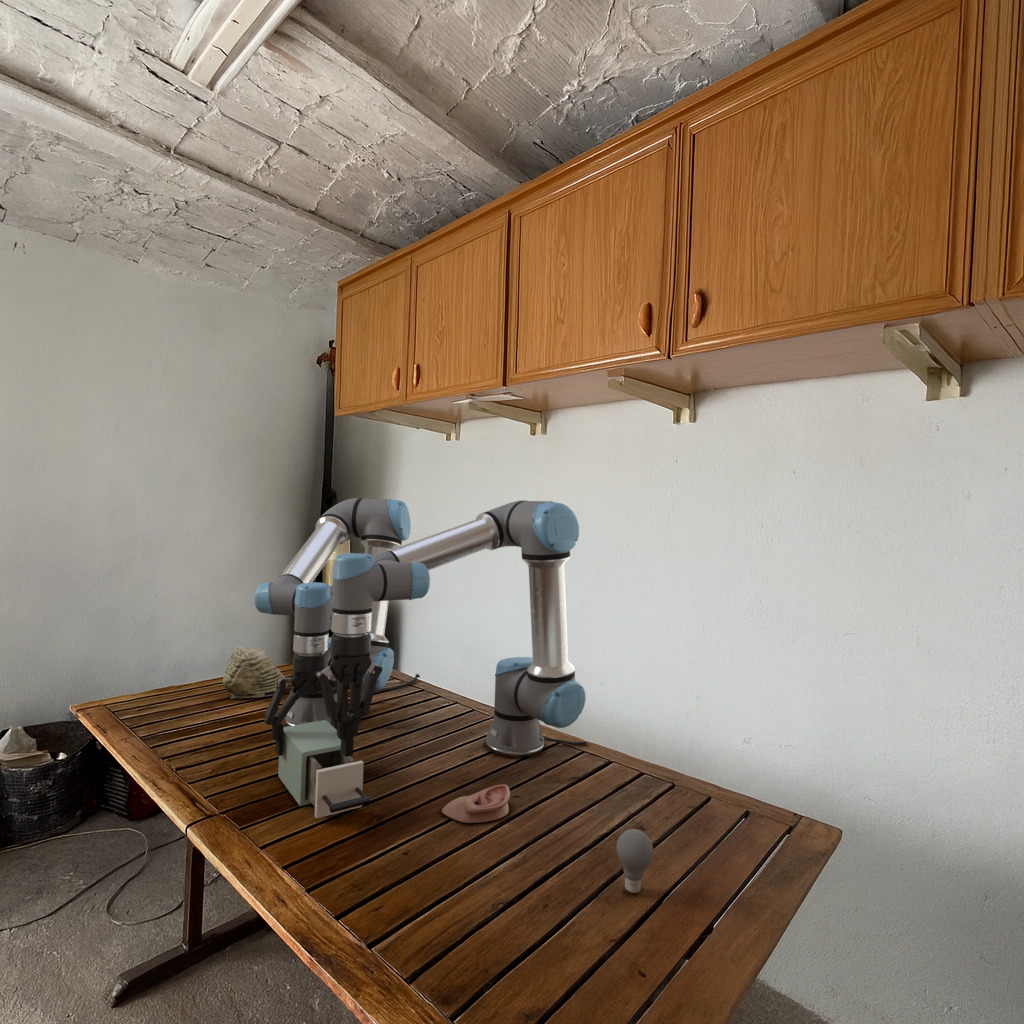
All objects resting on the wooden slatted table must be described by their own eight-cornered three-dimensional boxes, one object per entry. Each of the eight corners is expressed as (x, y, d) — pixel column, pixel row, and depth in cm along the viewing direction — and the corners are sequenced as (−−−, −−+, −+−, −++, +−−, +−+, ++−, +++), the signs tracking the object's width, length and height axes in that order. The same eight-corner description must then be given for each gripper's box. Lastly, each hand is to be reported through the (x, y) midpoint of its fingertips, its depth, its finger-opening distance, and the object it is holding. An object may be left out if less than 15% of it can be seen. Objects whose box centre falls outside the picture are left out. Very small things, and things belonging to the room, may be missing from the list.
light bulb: (610, 879, 108) (613, 822, 108) (644, 879, 109) (647, 822, 109) (619, 902, 102) (622, 840, 102) (655, 901, 103) (658, 840, 103)
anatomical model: (437, 799, 126) (454, 775, 137) (436, 818, 126) (453, 793, 138) (502, 808, 124) (514, 783, 135) (501, 828, 124) (513, 801, 135)
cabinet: (349, 794, 135) (351, 743, 135) (300, 806, 129) (302, 752, 129) (324, 766, 148) (325, 719, 148) (278, 776, 142) (279, 727, 142)
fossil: (218, 695, 195) (220, 647, 195) (278, 685, 208) (279, 640, 207) (228, 703, 189) (230, 653, 188) (289, 692, 201) (290, 645, 201)
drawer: (373, 819, 123) (375, 773, 123) (327, 832, 118) (328, 784, 118) (336, 778, 140) (337, 738, 140) (293, 788, 135) (295, 746, 135)
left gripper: (259, 662, 132) (255, 765, 133) (367, 650, 146) (364, 744, 146) (250, 654, 138) (247, 752, 139) (355, 643, 152) (351, 733, 153)
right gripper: (324, 640, 116) (319, 767, 116) (390, 634, 124) (385, 754, 124) (311, 632, 122) (307, 753, 123) (375, 627, 130) (370, 741, 130)
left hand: (307, 748), depth 143 cm, fingers open, 12 cm apart
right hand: (346, 753), depth 123 cm, fingers closed
